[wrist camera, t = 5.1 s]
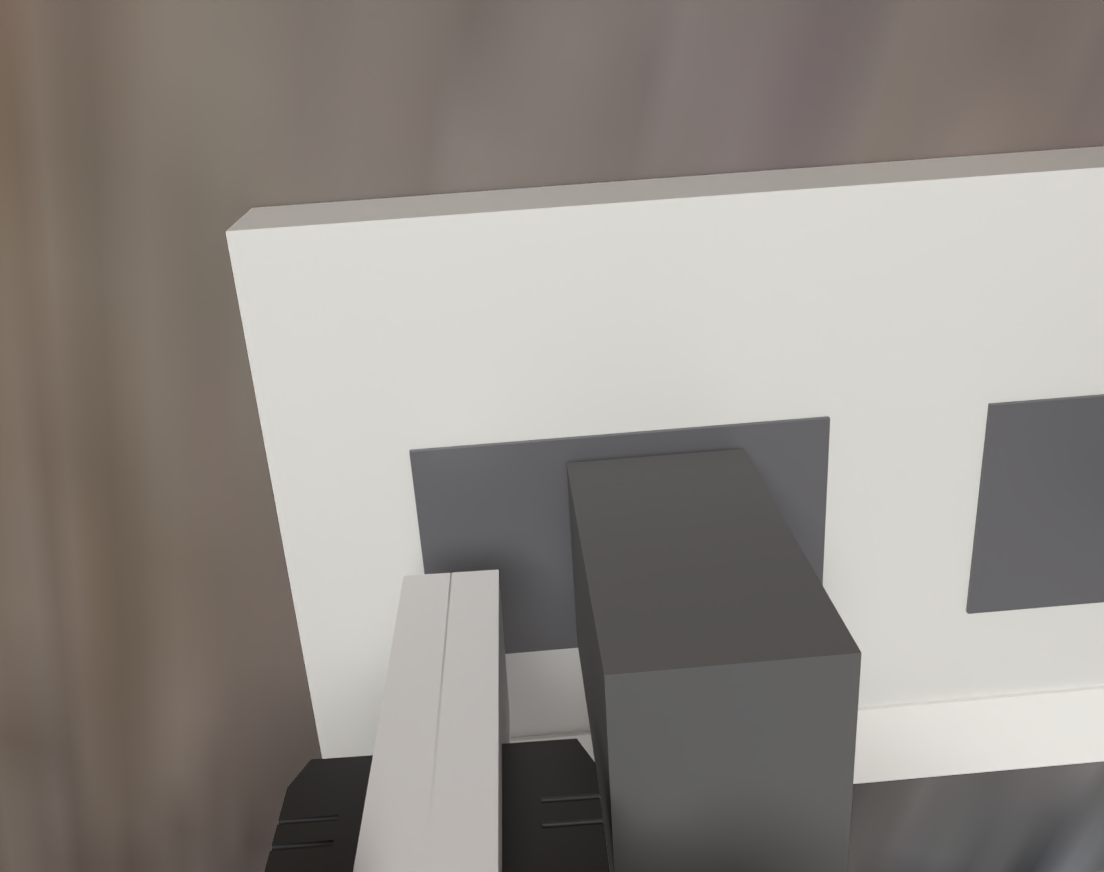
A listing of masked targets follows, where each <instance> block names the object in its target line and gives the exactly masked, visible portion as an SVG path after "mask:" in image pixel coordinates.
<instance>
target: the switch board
mask: <svg viewBox="0 0 1104 872" xmlns="http://www.w3.org/2000/svg"><path fill="white" fill-rule="evenodd" d="M226 236H227V242H228V247H229V253H230V258H231V264H232V269H233V275H234V280H235V285H236V291H237V296H238V302H239V307H240V313H241V318H242V324H243V329H244V335H245V340H246V345H247V351H248V356H249V362H250V367H251V373H252V378H253V384H254V389H255V395H256V400H257V405H258V411H259V416H260V422H261V427H262V433H263V438H264V444H265V449H266V455H267V460H268V465H269V471H270V476H271V482H272V487H273V493H274V498H275V504H276V509H277V515H278V520H279V525H280V531H281V536H282V542H283V547H284V553H285V558H286V564H287V569H288V575H289V580H290V585H291V591H292V596H293V602H294V607H295V613H296V618H297V624H298V629H299V635H300V640H301V645H302V651H303V656H304V662H305V667H306V673H307V678H308V684H309V689H310V695H311V700H312V705H313V711H314V716H315V722H316V727H317V733H318V738H319V744H320V749H321V754H322V759H327V758H341V757H355V756H370V755H373V752H374V746H375V740H376V735H377V729H378V723H379V717H380V711H381V705H382V700H383V694H384V688H385V682H386V676H387V670H388V665H389V659H390V653H391V647H392V641H393V635H394V630H395V624H396V618H397V612H398V606H399V600H400V595H401V589H402V583H403V577H404V576H407V575H423V574H438V573H453V572H468V571H483V570H499V580H500V593H501V606H502V619H503V632H504V645H505V658H506V671H507V683H508V696H509V709H510V743H519V742H533V741H547V740H561V739H576V738H577V739H578V741H579V742H580V743H581V745H582V746H583V747H584V749H585V750H586V751H587V753H588V754H589V755H590V756H591V758H592V759H593V760H594V753H593V746H592V739H591V732H590V725H589V718H588V712H587V705H586V698H585V691H584V684H583V677H582V670H581V663H580V656H579V650H578V642H577V626H576V609H575V593H574V577H573V561H572V544H571V528H570V512H569V496H568V479H567V463H572V462H584V461H596V460H609V459H621V458H633V457H646V456H658V455H671V454H683V453H695V452H708V451H720V450H732V449H744V451H745V453H746V454H747V456H748V458H749V460H750V461H751V463H752V465H753V467H754V468H755V470H756V472H757V473H758V475H759V477H760V479H761V480H762V482H763V484H764V485H765V487H766V489H767V491H768V492H769V494H770V496H771V498H772V499H773V501H774V503H775V504H776V506H777V508H778V510H779V511H780V513H781V515H782V517H783V518H784V520H785V522H786V523H787V525H788V527H789V529H790V530H791V532H792V534H793V535H794V537H795V539H796V541H797V542H798V544H799V546H800V548H801V549H802V551H803V553H804V554H805V556H806V558H807V560H808V561H809V563H810V565H811V567H812V568H813V570H814V572H815V573H816V575H817V577H818V579H819V580H820V582H821V584H822V585H823V587H824V589H825V591H826V592H827V594H828V596H829V598H830V599H831V601H832V603H833V604H834V606H835V608H836V610H837V611H838V613H839V615H840V617H841V618H842V620H843V622H844V623H845V625H846V627H847V629H848V630H849V632H850V634H851V635H852V637H853V639H854V641H855V642H856V644H857V646H858V648H859V649H860V651H861V653H862V654H861V669H860V685H859V700H858V716H857V732H856V747H855V763H854V779H853V784H859V783H870V782H881V781H891V780H902V779H913V778H924V777H935V776H946V775H957V774H968V773H979V772H990V771H1001V770H1012V769H1023V768H1034V767H1045V766H1056V765H1067V764H1078V763H1089V762H1099V761H1104V146H1100V147H1087V148H1073V149H1059V150H1045V151H1031V152H1018V153H1004V154H990V155H976V156H962V157H948V158H935V159H921V160H907V161H893V162H879V163H865V164H852V165H838V166H824V167H810V168H796V169H783V170H769V171H755V172H741V173H727V174H713V175H700V176H686V177H672V178H658V179H644V180H630V181H617V182H603V183H589V184H575V185H561V186H548V187H534V188H520V189H506V190H492V191H478V192H465V193H451V194H437V195H423V196H409V197H395V198H382V199H368V200H354V201H340V202H326V203H313V204H299V205H285V206H271V207H257V208H251V209H250V210H249V211H248V212H247V213H246V214H245V215H244V216H242V217H241V218H240V219H239V220H238V221H237V222H236V223H234V224H233V225H232V226H231V227H230V228H229V229H228V230H227V231H226ZM594 762H595V760H594Z"/></svg>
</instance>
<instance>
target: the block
mask: <svg viewBox="0 0 1104 872" xmlns="http://www.w3.org/2000/svg"><path fill="white" fill-rule="evenodd" d="M567 479H568V496H569V512H570V528H571V544H572V561H573V577H574V593H575V609H576V626H577V642H578V650H579V656H580V663H581V670H582V677H583V684H584V691H585V698H586V705H587V712H588V718H589V725H590V732H591V739H592V746H593V753H594V760H595V763H596V769H597V777H598V785H599V793H600V800H601V808H602V815H603V822H604V828H605V835H606V842H607V849H608V856H609V863H610V870H611V872H848V857H849V841H850V825H851V810H852V794H853V779H854V763H855V747H856V732H857V716H858V700H859V685H860V669H861V654H862V653H861V651H860V649H859V648H858V646H857V644H856V642H855V641H854V639H853V637H852V635H851V634H850V632H849V630H848V629H847V627H846V625H845V623H844V622H843V620H842V618H841V617H840V615H839V613H838V611H837V610H836V608H835V606H834V604H833V603H832V601H831V599H830V598H829V596H828V594H827V592H826V591H825V589H824V587H823V585H822V584H821V582H820V580H819V579H818V577H817V575H816V573H815V572H814V570H813V568H812V567H811V565H810V563H809V561H808V560H807V558H806V556H805V554H804V553H803V551H802V549H801V548H800V546H799V544H798V542H797V541H796V539H795V537H794V535H793V534H792V532H791V530H790V529H789V527H788V525H787V523H786V522H785V520H784V518H783V517H782V515H781V513H780V511H779V510H778V508H777V506H776V504H775V503H774V501H773V499H772V498H771V496H770V494H769V492H768V491H767V489H766V487H765V485H764V484H763V482H762V480H761V479H760V477H759V475H758V473H757V472H756V470H755V468H754V467H753V465H752V463H751V461H750V460H749V458H748V456H747V454H746V453H745V451H744V449H732V450H720V451H708V452H695V453H683V454H671V455H658V456H646V457H633V458H621V459H609V460H596V461H584V462H572V463H567Z"/></svg>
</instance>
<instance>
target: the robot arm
mask: <svg viewBox="0 0 1104 872" xmlns="http://www.w3.org/2000/svg"><path fill="white" fill-rule="evenodd" d="M265 872H610V870H609V863H608V855H607V847H606V839H605V831H604V824H603V816H602V808H601V800H600V793H599V785H598V777H597V769H596V763H595V762H594V760H593V759H592V758H591V756H590V755H589V754H588V753H587V751H586V750H585V749H584V747H583V746H582V745H581V743H580V742H579V741H578V739H577V738H576V739H561V740H547V741H533V742H519V743H510V709H509V696H508V683H507V671H506V658H505V645H504V632H503V619H502V606H501V593H500V580H499V570H483V571H468V572H453V573H438V574H423V575H407V576H404V577H403V583H402V589H401V595H400V600H399V606H398V612H397V618H396V624H395V630H394V635H393V641H392V647H391V653H390V659H389V665H388V670H387V676H386V682H385V688H384V694H383V700H382V705H381V711H380V717H379V723H378V729H377V735H376V740H375V746H374V752H373V755H370V756H355V757H341V758H327V759H313V760H310V761H309V762H308V764H307V765H306V766H305V767H304V769H303V770H302V771H301V772H300V773H299V775H298V776H297V777H296V778H295V779H294V781H293V782H292V783H291V784H290V786H289V787H288V788H287V792H286V795H285V799H284V803H283V806H282V810H281V814H280V817H279V825H277V828H276V832H275V835H274V839H273V843H272V851H270V854H269V857H268V861H267V865H266V868H265Z"/></svg>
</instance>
